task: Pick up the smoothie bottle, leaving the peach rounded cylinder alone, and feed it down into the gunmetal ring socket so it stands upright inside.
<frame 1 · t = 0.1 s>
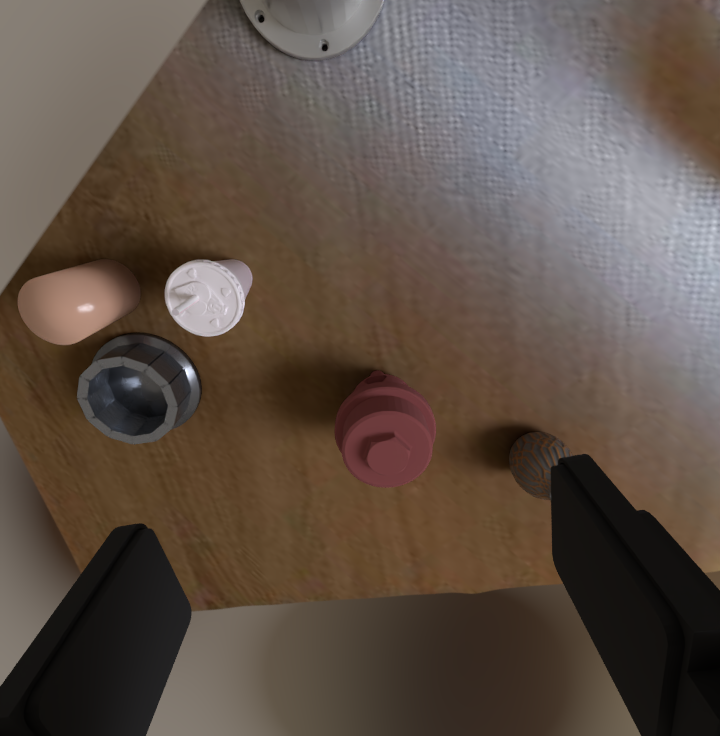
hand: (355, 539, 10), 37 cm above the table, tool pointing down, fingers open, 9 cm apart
vase: (529, 446, 53), on the table
smoothie: (235, 277, 44), on the table
peach rounded cylinder: (111, 288, 45), on the table
mechanical component: (381, 394, 50), on the table
ring socket: (148, 382, 49), on the table
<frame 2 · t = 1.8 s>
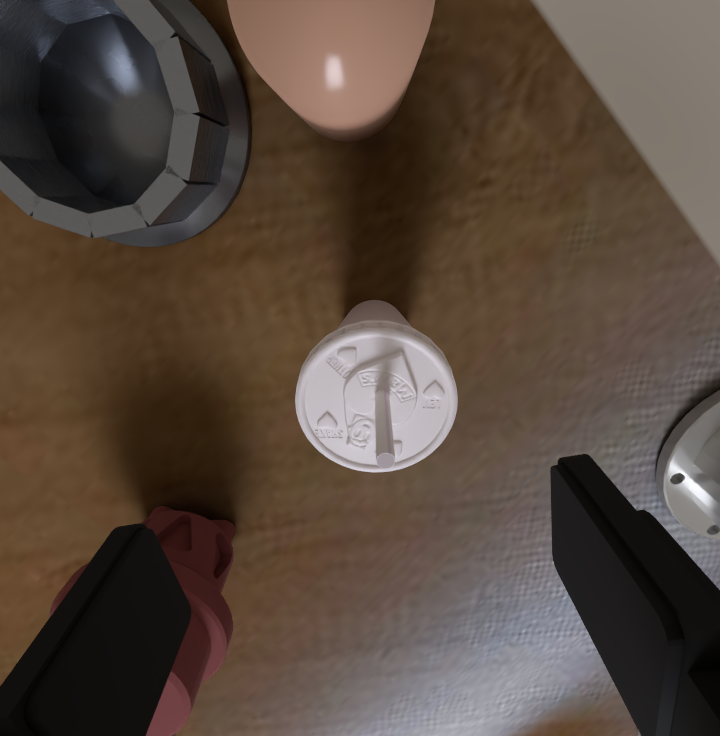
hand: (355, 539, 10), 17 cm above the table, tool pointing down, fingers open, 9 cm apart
smoothie: (374, 329, 26), on the table
peach rounded cylinder: (346, 71, 20), on the table
mechanical component: (193, 530, 32), on the table
ring socket: (132, 121, 21), on the table
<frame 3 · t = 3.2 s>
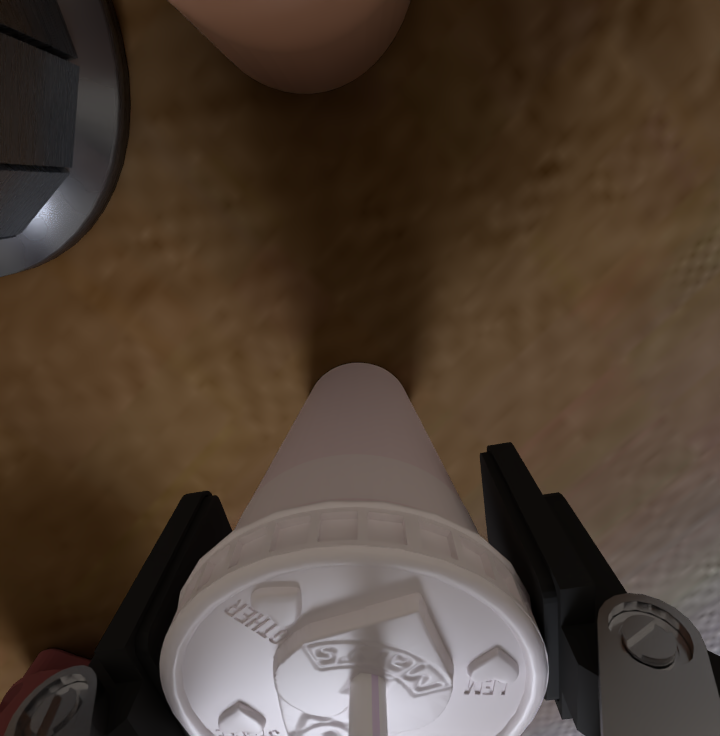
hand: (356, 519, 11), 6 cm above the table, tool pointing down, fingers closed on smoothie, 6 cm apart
smoothie: (358, 406, 16), on the table, touching gripper
mechanical component: (103, 675, 22), on the table
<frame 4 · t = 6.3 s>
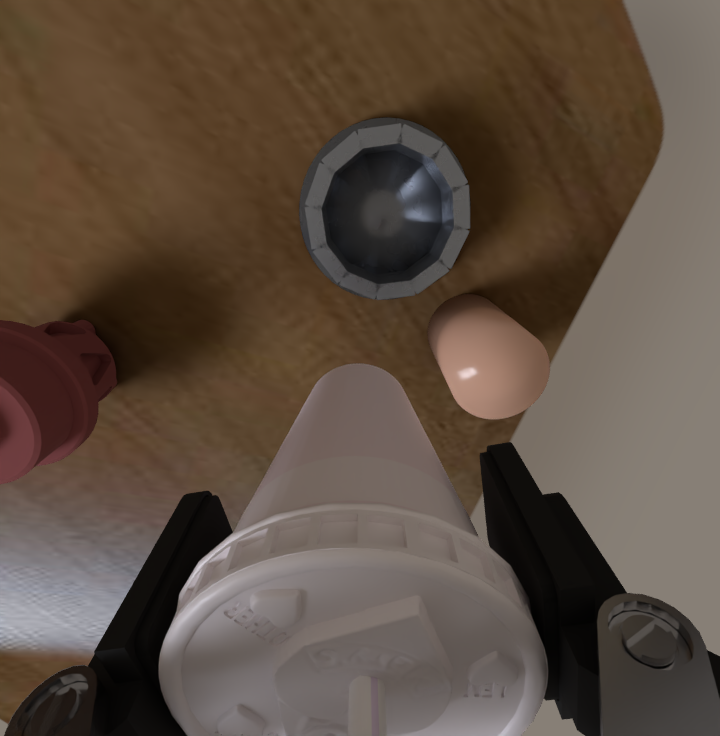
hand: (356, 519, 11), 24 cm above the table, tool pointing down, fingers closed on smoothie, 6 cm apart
smoothie: (358, 407, 16), point 18 cm above the table, touching gripper
peach rounded cylinder: (465, 331, 34), on the table
mechanical component: (84, 356, 35), on the table
ring socket: (384, 214, 31), on the table
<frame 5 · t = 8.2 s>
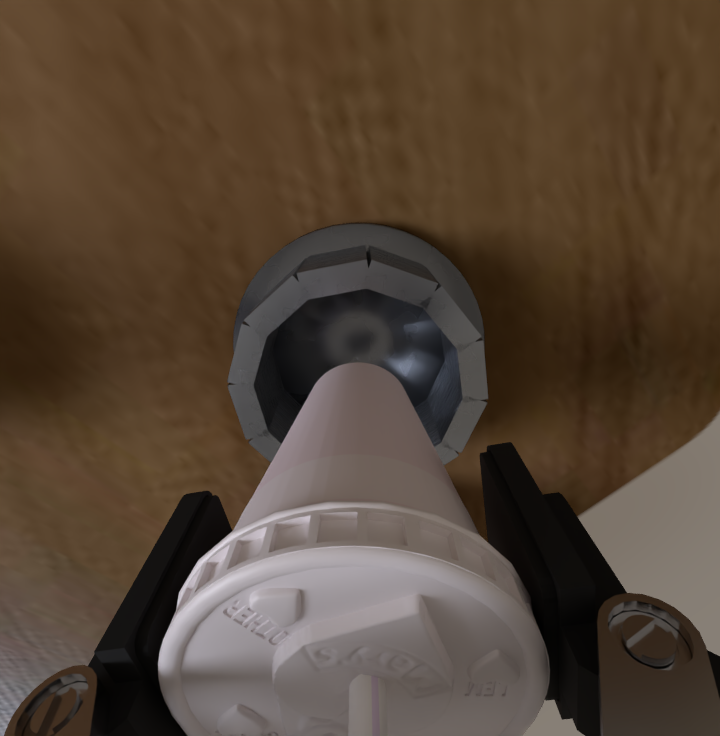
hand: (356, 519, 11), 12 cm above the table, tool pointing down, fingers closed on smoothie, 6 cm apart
smoothie: (358, 406, 16), point 6 cm above the table, touching gripper
ring socket: (358, 349, 21), on the table
when the fingers open (8 cm above the table, at t = 9.6 s): smoothie drops 1 cm, resting on ring socket.
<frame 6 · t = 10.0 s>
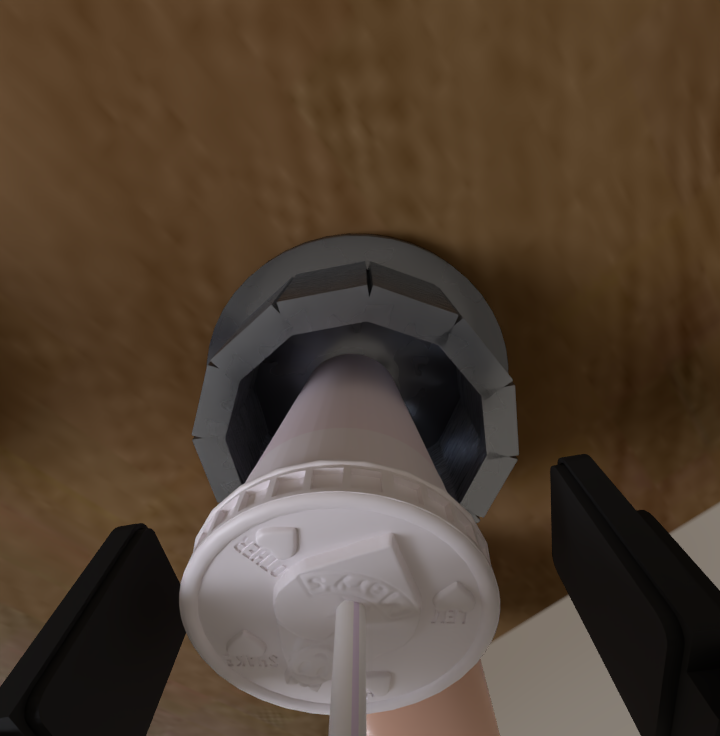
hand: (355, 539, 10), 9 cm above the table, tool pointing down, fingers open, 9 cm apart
smoothie: (351, 394, 17), point 1 cm above the table, touching ring socket
peach rounded cylinder: (398, 571, 22), on the table
ring socket: (357, 382, 18), on the table
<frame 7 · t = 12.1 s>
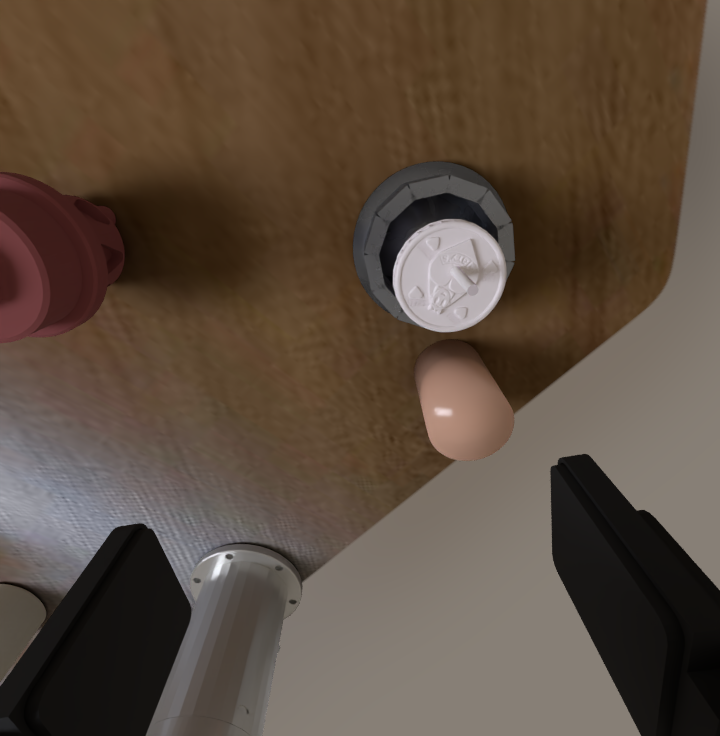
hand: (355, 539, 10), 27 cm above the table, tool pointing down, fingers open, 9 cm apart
smoothie: (427, 251, 33), point 1 cm above the table, touching ring socket
peach rounded cylinder: (447, 370, 38), on the table
travel mug: (15, 602, 52), on the table
mechanical component: (91, 241, 34), on the table
ring socket: (429, 246, 33), on the table
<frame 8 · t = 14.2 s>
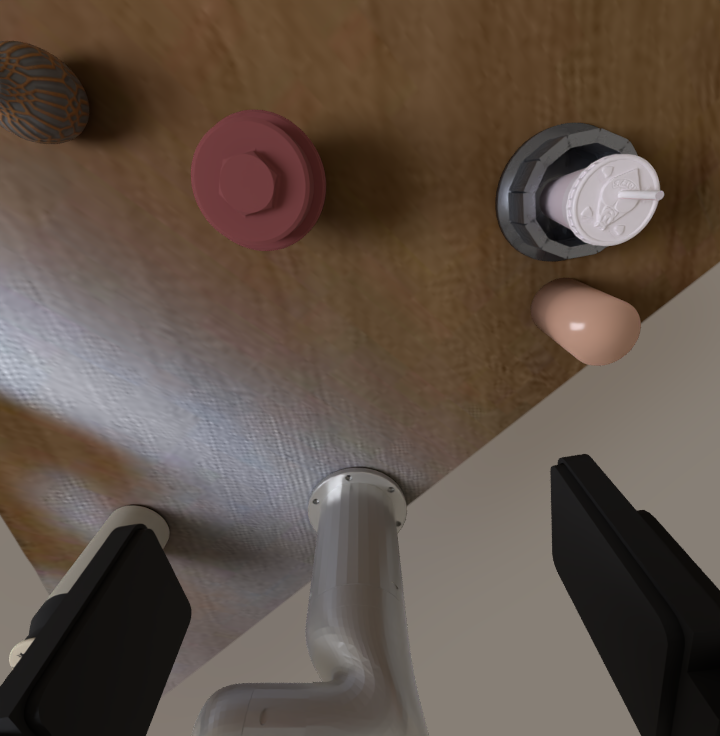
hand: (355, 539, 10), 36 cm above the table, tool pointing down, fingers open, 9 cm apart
vase: (64, 103, 38), on the table
smoothie: (558, 198, 40), point 1 cm above the table, touching ring socket
peach rounded cylinder: (559, 306, 45), on the table
travel mug: (140, 526, 57), on the table
mechanical component: (278, 184, 41), on the table
ring socket: (558, 195, 41), on the table
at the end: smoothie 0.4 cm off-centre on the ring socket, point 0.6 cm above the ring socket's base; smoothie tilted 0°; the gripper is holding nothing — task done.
